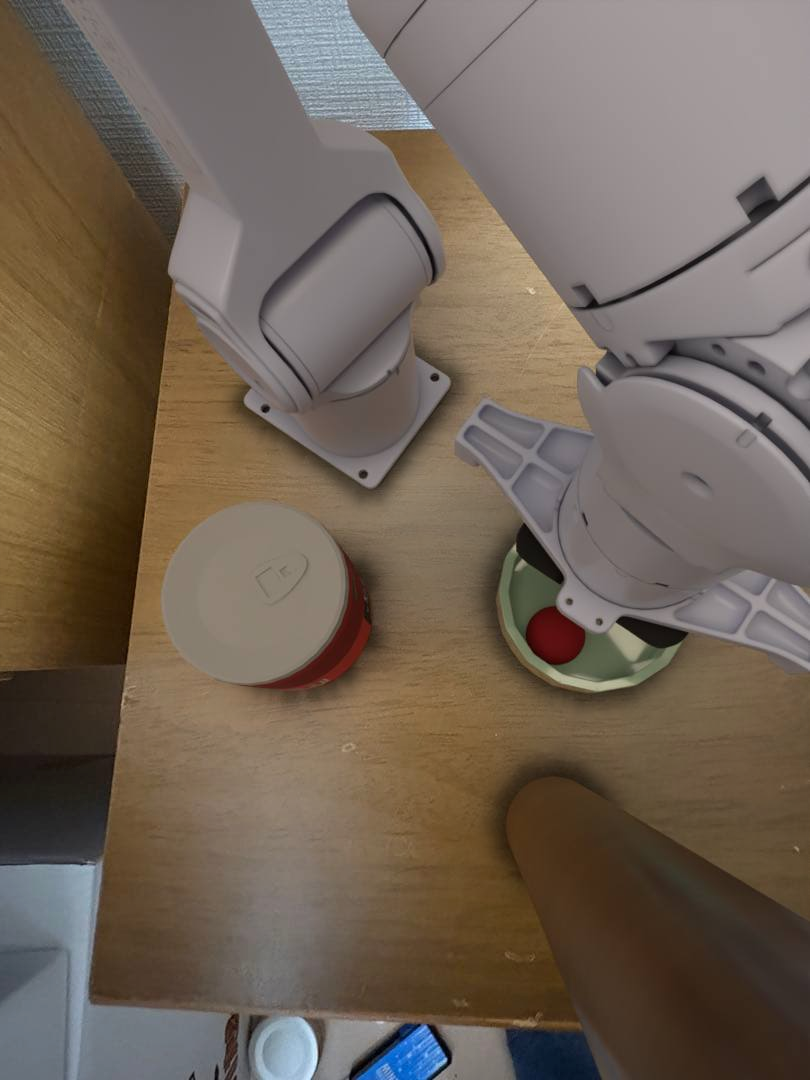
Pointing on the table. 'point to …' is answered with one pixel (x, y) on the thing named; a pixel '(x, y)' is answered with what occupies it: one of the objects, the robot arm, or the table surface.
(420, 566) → the table surface
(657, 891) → the pepper mill
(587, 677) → the bowl
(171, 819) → the table surface
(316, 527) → the canned food
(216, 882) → the table surface
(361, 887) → the table surface
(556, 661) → the bead
